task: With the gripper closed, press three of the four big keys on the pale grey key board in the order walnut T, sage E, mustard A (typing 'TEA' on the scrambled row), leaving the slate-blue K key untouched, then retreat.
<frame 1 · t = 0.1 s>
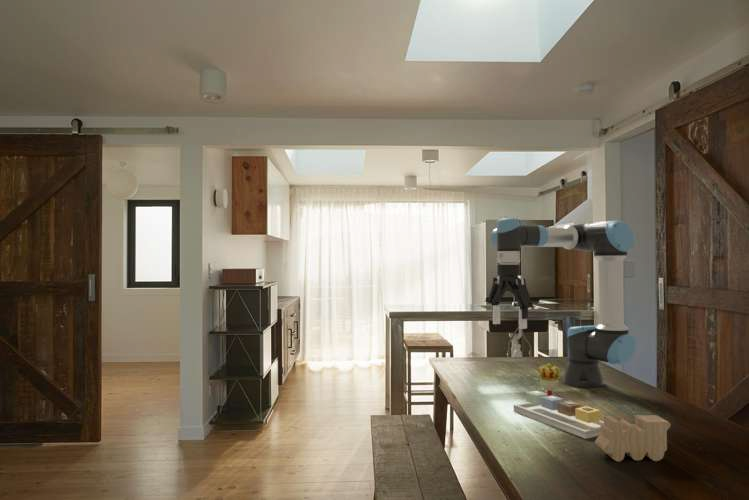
hand: (509, 326, 178), 28 cm above the table, fingers open, 13 cm apart
key K: (552, 402, 168), point 5 cm above the table, slide at 0.0 cm
key T: (569, 408, 161), point 5 cm above the table, slide at 0.0 cm
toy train: (632, 458, 135), on the table
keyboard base: (560, 420, 164), on the table
key E: (536, 397, 174), point 5 cm above the table, slide at 0.0 cm
toy: (549, 402, 186), on the table
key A: (587, 414, 155), point 5 cm above the table, slide at 0.0 cm
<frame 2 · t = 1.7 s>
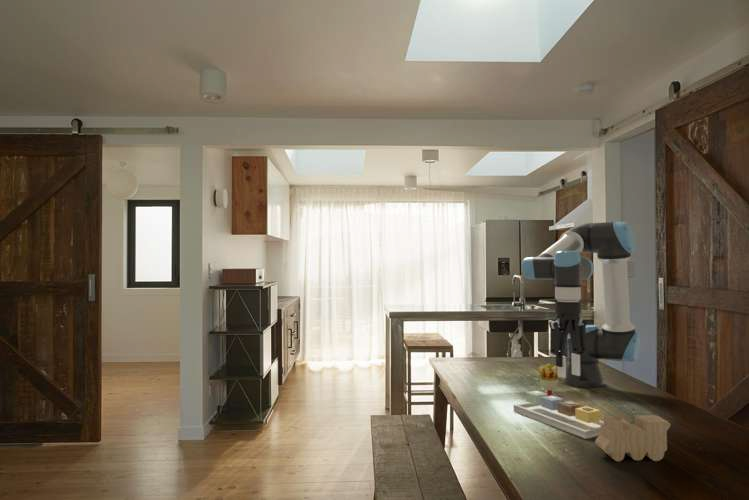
hand: (568, 375, 161), 15 cm above the table, fingers open, 5 cm apart
nothing on the table moved.
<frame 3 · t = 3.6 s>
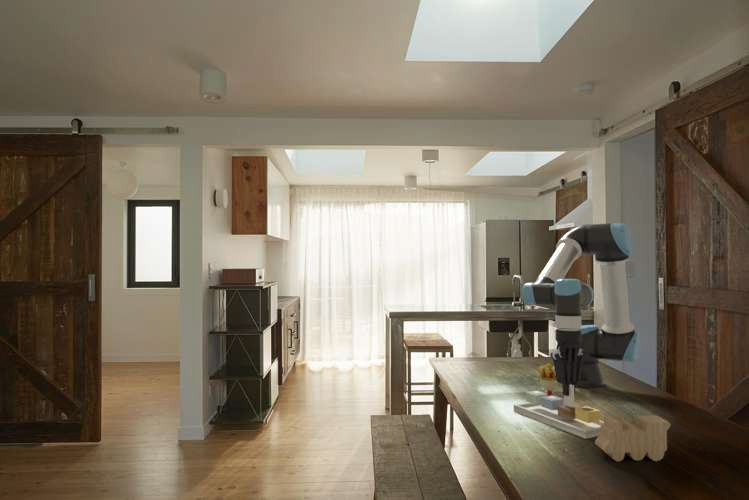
hand: (569, 405, 161), 6 cm above the table, fingers closed
key T: (569, 411, 161), point 4 cm above the table, slide at 1.1 cm, touching gripper
everything else where it was.
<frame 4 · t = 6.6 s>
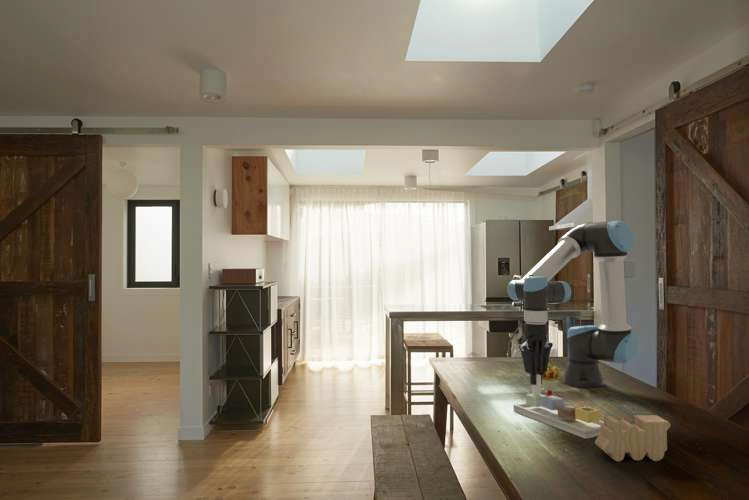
hand: (536, 393, 174), 6 cm above the table, fingers closed
key T: (569, 412, 161), point 4 cm above the table, slide at 1.2 cm
key E: (536, 399, 174), point 4 cm above the table, slide at 0.8 cm, touching gripper
everything else where it was.
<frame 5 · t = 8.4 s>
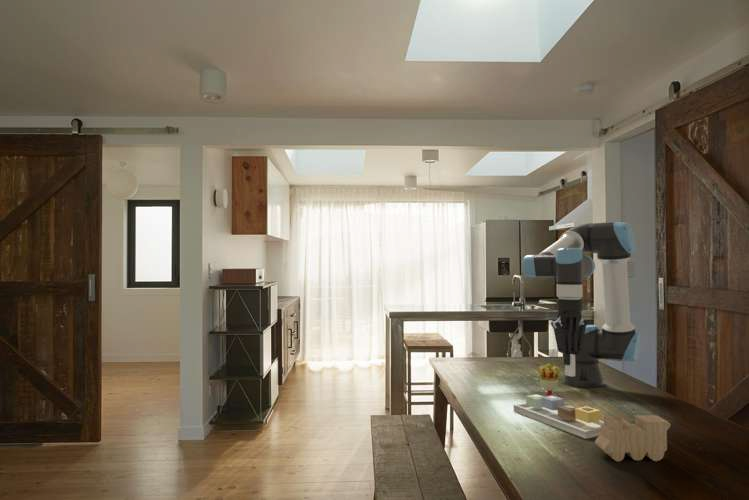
hand: (570, 375, 160), 15 cm above the table, fingers closed
key E: (536, 400, 174), point 4 cm above the table, slide at 1.2 cm
everything else where it was.
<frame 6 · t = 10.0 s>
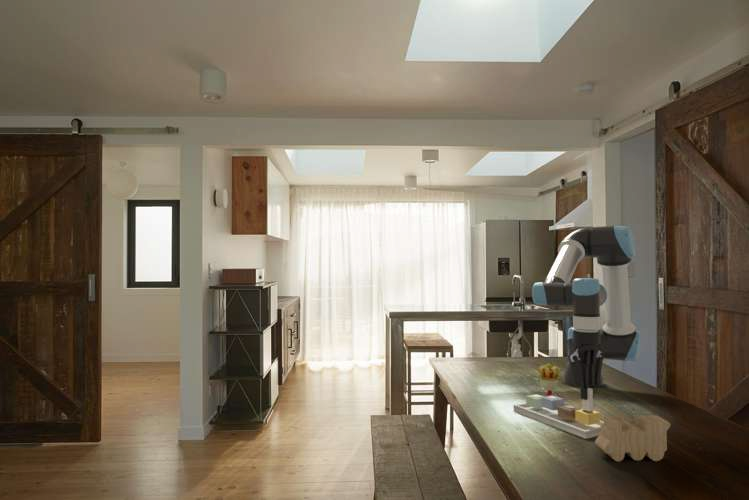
hand: (587, 410, 155), 6 cm above the table, fingers closed
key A: (587, 416, 155), point 4 cm above the table, slide at 0.6 cm, touching gripper
everything else where it was.
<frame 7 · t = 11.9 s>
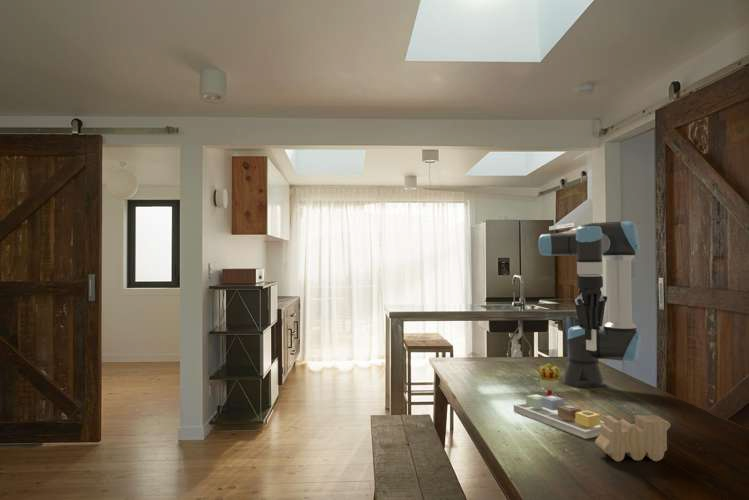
hand: (591, 349, 165), 22 cm above the table, fingers closed
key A: (587, 418, 155), point 4 cm above the table, slide at 1.2 cm
everything else where it was.
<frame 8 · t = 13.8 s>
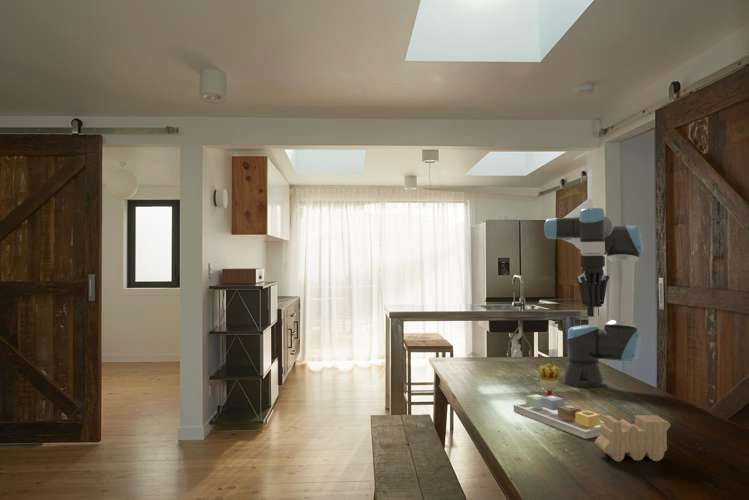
hand: (593, 326, 173), 28 cm above the table, fingers closed
nothing on the table moved.
at the end: key T slide at 1.2 cm; key E slide at 1.2 cm; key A slide at 1.2 cm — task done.
